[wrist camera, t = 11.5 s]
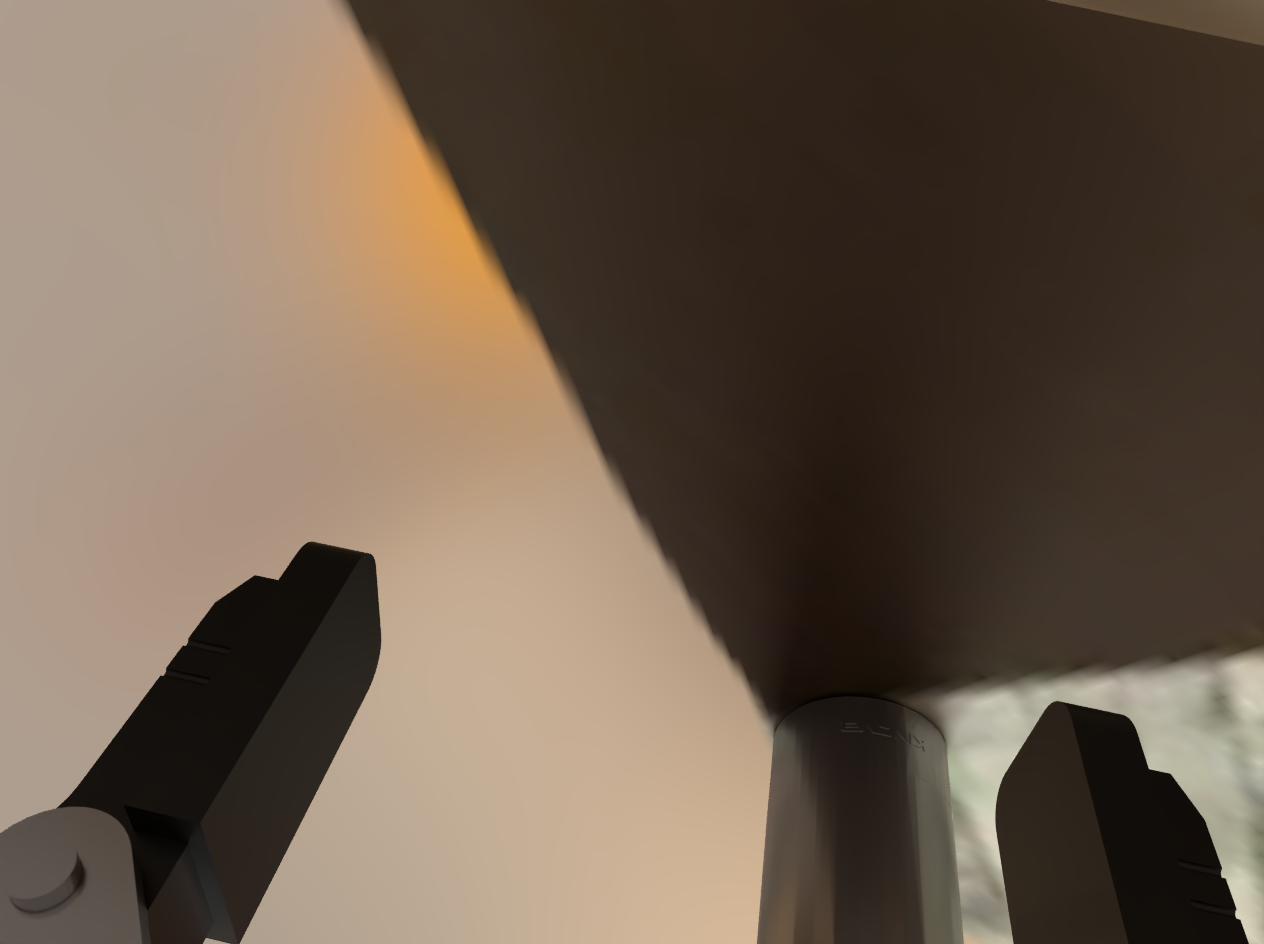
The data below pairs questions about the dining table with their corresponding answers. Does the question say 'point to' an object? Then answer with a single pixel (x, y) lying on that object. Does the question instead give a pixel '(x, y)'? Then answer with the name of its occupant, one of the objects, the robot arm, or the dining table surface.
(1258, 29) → the wooden block rack
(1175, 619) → the dining table surface
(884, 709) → the robot arm
